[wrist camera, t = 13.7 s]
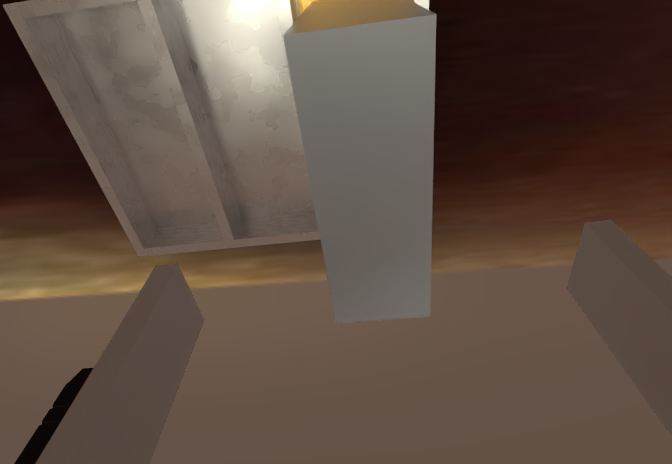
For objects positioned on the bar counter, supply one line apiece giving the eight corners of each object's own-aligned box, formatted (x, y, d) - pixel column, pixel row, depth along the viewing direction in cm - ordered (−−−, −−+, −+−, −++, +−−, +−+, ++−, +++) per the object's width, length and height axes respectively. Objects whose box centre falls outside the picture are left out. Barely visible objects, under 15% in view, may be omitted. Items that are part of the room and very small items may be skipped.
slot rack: (155, 233, 35) (137, 258, 32) (41, -1, 25) (-1, 4, 22) (423, 206, 33) (431, 230, 30) (423, -63, 23) (436, -67, 20)
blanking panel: (338, 195, 32) (336, 323, 21) (311, 1, 24) (283, 35, 13) (398, 189, 32) (430, 316, 20) (391, -10, 24) (436, 14, 12)
